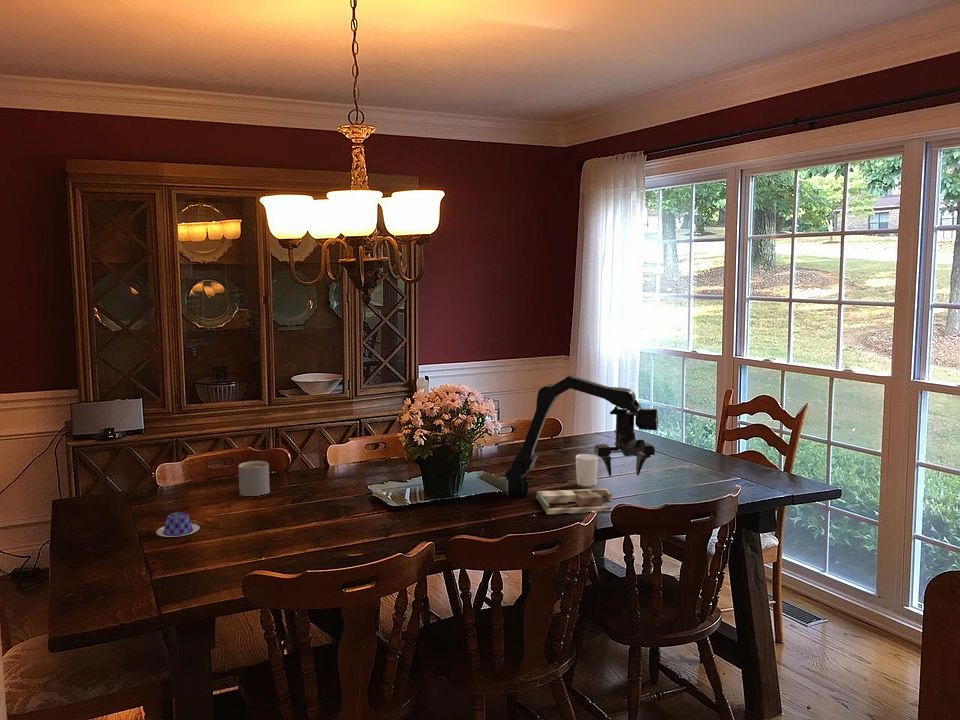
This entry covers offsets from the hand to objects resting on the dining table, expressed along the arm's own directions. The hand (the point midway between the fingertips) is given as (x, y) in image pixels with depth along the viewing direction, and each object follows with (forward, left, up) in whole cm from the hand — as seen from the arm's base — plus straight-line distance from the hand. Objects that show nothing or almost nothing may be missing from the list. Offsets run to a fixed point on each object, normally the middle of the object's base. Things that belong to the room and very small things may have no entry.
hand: (623, 475), depth 257 cm
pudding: (-137, -7, -10) cm, 138 cm away
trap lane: (-14, +2, -10) cm, 18 cm away
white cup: (-5, +26, -10) cm, 28 cm away
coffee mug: (-121, +32, -10) cm, 126 cm away
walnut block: (-11, 0, -10) cm, 15 cm away
